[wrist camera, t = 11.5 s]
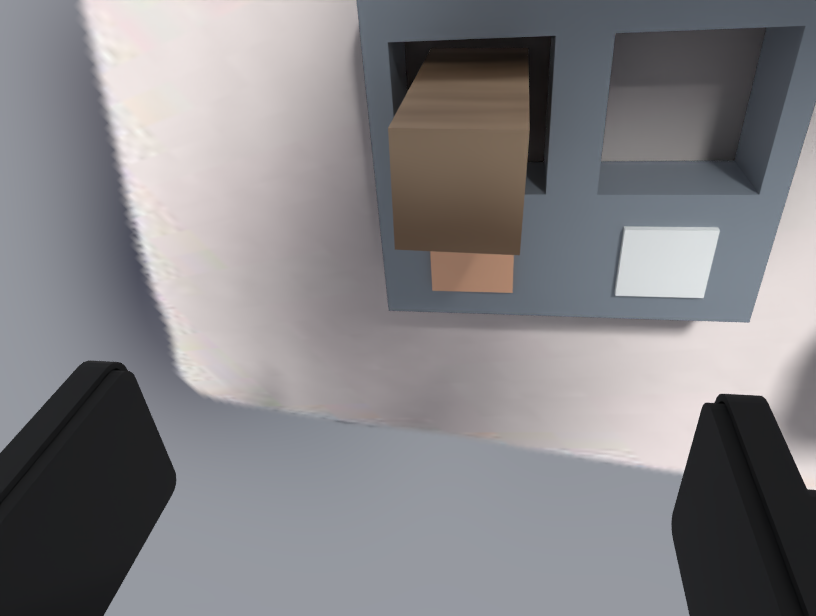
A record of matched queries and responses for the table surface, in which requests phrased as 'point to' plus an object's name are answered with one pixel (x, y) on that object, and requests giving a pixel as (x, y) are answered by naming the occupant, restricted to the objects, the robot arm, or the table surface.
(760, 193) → the socket block
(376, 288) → the table surface
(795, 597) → the robot arm
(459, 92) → the plug
